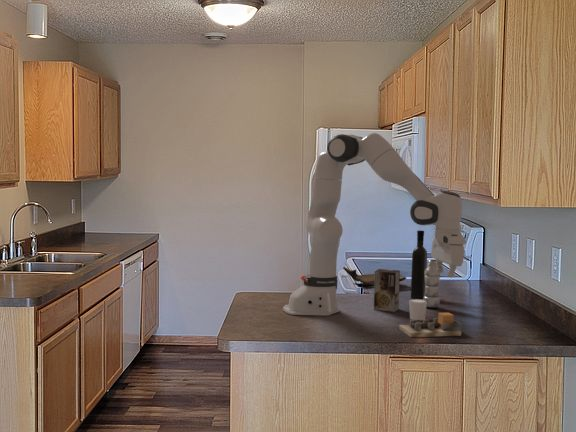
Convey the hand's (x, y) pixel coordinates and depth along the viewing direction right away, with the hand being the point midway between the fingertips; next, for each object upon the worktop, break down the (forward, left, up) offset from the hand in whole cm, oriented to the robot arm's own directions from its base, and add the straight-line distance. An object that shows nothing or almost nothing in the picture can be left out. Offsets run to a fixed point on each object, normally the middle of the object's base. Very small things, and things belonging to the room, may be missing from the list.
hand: (445, 274), depth 243 cm
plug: (-5, -2, -19) cm, 20 cm away
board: (-6, -2, -20) cm, 21 cm away
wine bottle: (+13, +54, -21) cm, 59 cm away
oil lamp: (+3, +84, -21) cm, 87 cm away
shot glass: (-2, +18, -21) cm, 28 cm away
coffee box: (-9, +34, -21) cm, 41 cm away
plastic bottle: (+11, +35, -21) cm, 42 cm away
